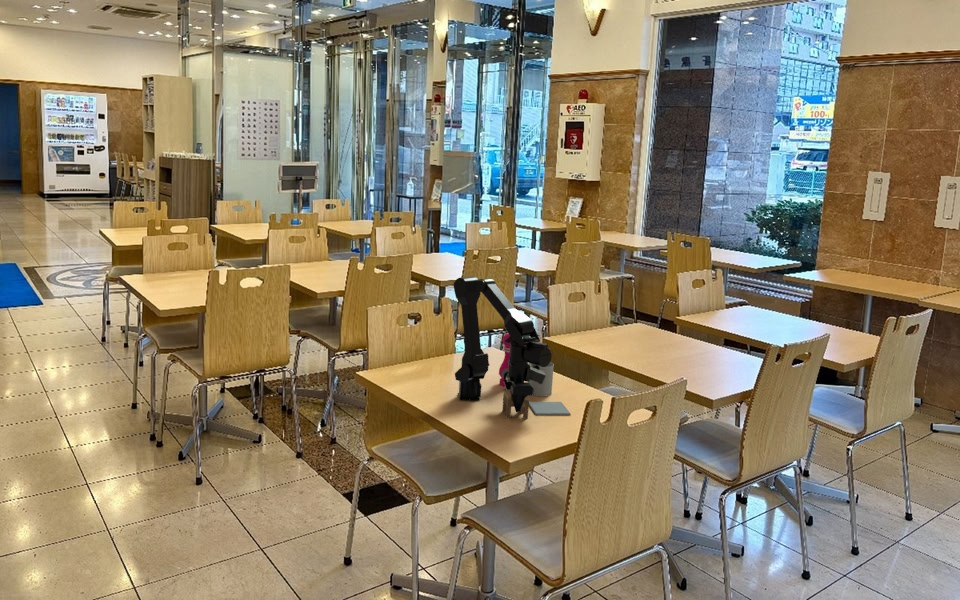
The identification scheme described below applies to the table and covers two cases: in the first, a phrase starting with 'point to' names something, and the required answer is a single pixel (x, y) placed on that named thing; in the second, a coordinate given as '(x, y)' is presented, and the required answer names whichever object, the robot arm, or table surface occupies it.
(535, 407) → the mat
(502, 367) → the pepper mill
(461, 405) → the table surface
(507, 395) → the stool
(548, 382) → the cup
